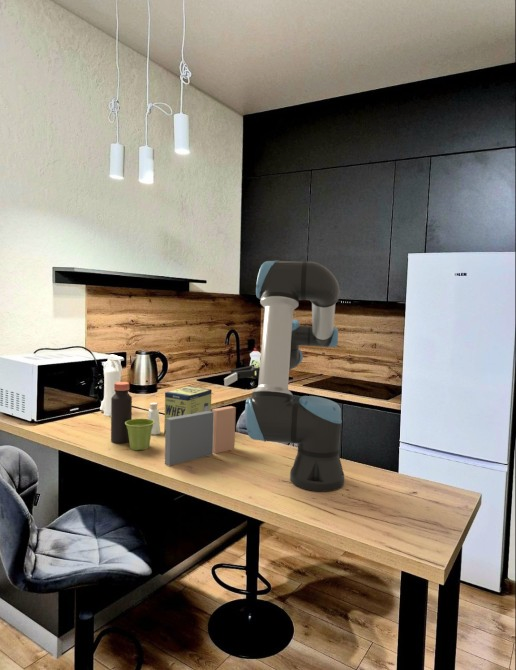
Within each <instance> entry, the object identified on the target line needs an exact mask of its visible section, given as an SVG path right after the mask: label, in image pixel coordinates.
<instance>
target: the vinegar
mask: <svg viewBox="0 0 516 670" xmlns="http://www.w3.org/2000/svg"><path fill="white" fill-rule="evenodd" d="M114 390H115V394H114V395H113V397H112V398H111V416H110V418H111V419H110V441H111V442H112V443H115V444H126V443H128V442H129V435H128V429H127V426H126V425H125V422H126V421H128V420H132V419H133V418H132V417H133V416H132V415H133V413H132V411H133V410H132V409H133V408H132V407H133V403H132V402H133V401H132V400H133V397H132V396H131V394H130V393H129V392H130V383H129V382H128V381H120V382H116V383H114Z"/></svg>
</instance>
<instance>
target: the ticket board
mask: <svg viewBox="0 0 516 670" xmlns="http://www.w3.org/2000/svg"><path fill="white" fill-rule="evenodd" d="M164 437H165V438H164V439H165V441H164V442H165V443H164V445H165V446H164V464H165V466H168V465H169V466H168V467H171V466H170V465H173V466H174V465H176V464H177V465H178V464H180V463H185V462H189V461H193V460H197V459H201V458H204V457H208V456H213V455H214V453H213V438H214V412H212V410H211V411H205V412H199V413H193V414H187V415H181V416H176V417H170V418H166V430H165V436H164Z"/></svg>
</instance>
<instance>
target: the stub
mask: <svg viewBox="0 0 516 670" xmlns="http://www.w3.org/2000/svg"><path fill="white" fill-rule="evenodd" d="M236 410H237V408H236V407H235V406H232V405H230V406H229V405H228V406H224V407H218V408H211V412H214V438H213V454H220V453H224V452H228V451H230V450H235V441H236V415H237V414H236V413H237V411H236Z"/></svg>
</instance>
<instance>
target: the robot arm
mask: <svg viewBox="0 0 516 670" xmlns="http://www.w3.org/2000/svg"><path fill="white" fill-rule="evenodd" d="M255 285H256V287H255V295H256V298H257V299H259V300H260V301H259V302H260V303H259V304H260V305H261V306H262V307H263V308H264V312H263V325H262V327H263V328H262V339H261V348H260V349H261V350H260V362H259V366H258V367H255V364H251V365H247V366H243V367H237V368H234V369H230V374H229V375H228V376H226V377H225V378H223V381H224V382H223V383H224V387H228V386H229V385H231V384H233V383H235V382H236V381H238V380H239V379H247V378H252V379H258V385H257V387H256V388H255V389H253V390H252V392H251V393H252V394H251V397H247V398H246V400H245V405H244V407H245V408H244V411H245V412H244V413H245V414H244V415H245V425H246V426H245V427H246V431H247V432H246V433H247V434H248V436H249V438H250V439H251V440H254V441H260V442H261V441H262V442H265V443H266V442H275V443H284V444H285V443H286V444H297V453H296V455H295V458H294V462H293V464H292V467H291V468H290V472H289V473H290V476H289V480H290V482H291V483H292V484H293V485H294V486H296V487H297V488H301V489H303V490H308V491H313V492H332V491H333V492H334V491H337V490H339V489H341V488H343V486H344V485H345V473H344V471H343V469H344V468H343V465H342V461H341V458H340V446H341V445H340V443H341V425H342V421H343V420H342V408H341V407H340V405H339V404H338V403H337V402H336V401H333V400H331V399H328V398H323V397H320V396H314V395H309V396H308V395H303V396H301V397H299V399H298V401H294V400H293V396H294V395H293V393H292V392H291V390H289V379H290V378H289V376H290V371H291V370H293V369H295V368H296V367H298V366H299V365H300V364H301V363H302V361H303V359H304V356H303V353H302V350H301V349H300V348H299V346H303V347H305V346H306V347H321V348H322V347H323V348H335V347H337V346H338V341H339V328H337V327H335V325H334V324H335V316H336V315H335V312H336V303H337V302H338V301H339V298H340V292H341V291H340V284H339V282H338V280H337V279H336V277H335V275H334V274H333V273H332V272H331V270H329V268H327V267H326V266H324V265H322V264H320V263H319V262H316V261H297V260H296V261H294V260H293V261H288V260H278V259H277V260H276V259H275V260H267V261H264V262H263V263H262V264H261V265H260V268H259V271H258V273H257V279H256V284H255ZM300 301H310V303H311V314H312V315H311V317H312V321H311V322H312V324H311V325H312V326H311V325H300V321H299V320H297V319H294V317H293V316H294V310H295V309H297V308H298V307H299V303H300Z"/></svg>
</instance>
